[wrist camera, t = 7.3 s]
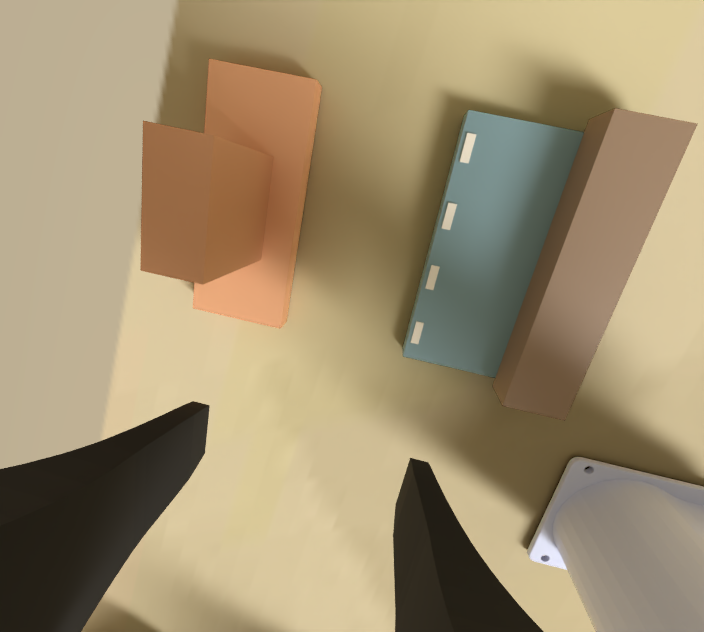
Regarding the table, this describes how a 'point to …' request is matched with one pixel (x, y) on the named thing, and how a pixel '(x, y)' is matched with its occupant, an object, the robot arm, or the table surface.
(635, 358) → the table surface
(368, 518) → the table surface
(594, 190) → the block
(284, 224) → the stepped pink slab
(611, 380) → the table surface
